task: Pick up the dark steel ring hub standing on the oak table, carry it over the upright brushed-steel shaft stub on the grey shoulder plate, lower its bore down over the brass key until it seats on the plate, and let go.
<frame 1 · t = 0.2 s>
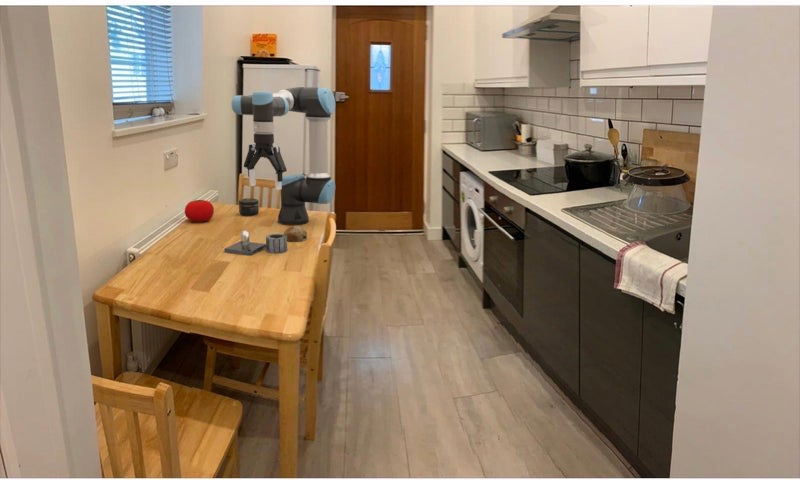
hand: (265, 187, 214), 26 cm above the table, fingers open, 13 cm apart
jar: (249, 214, 282), on the table
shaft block: (245, 249, 223), on the table
bread roll: (294, 239, 241), on the table
tomato: (200, 221, 266), on the table
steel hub: (276, 250, 224), on the table
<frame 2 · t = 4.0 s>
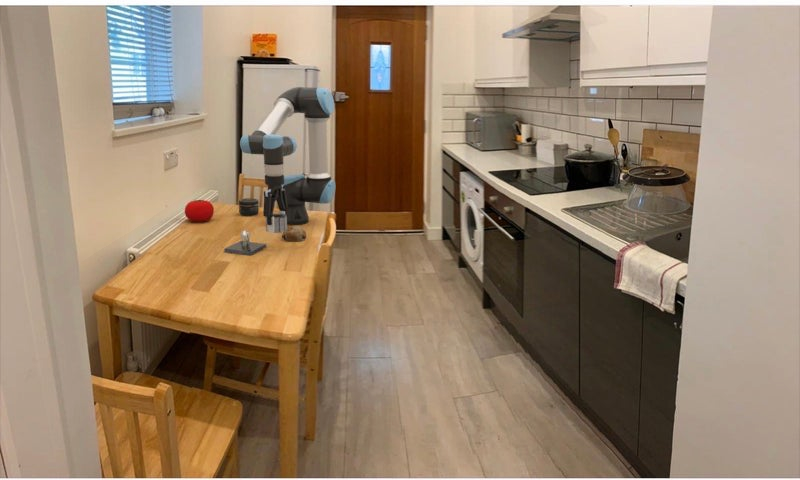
hand: (276, 229, 222), 9 cm above the table, fingers closed on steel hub, 8 cm apart
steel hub: (276, 230, 222), point 9 cm above the table, touching gripper
everything else where it was.
when the fingers open (3 cm above the table, at t = 7.7 s): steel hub stays where it is, resting on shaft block.
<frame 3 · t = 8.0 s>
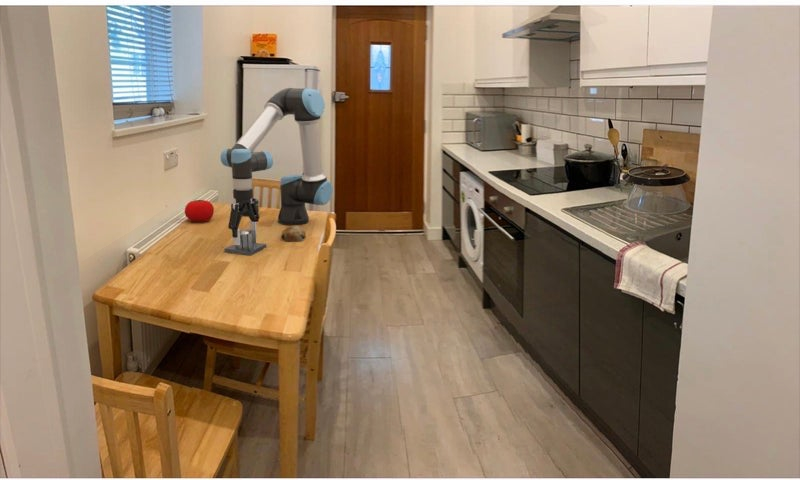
hand: (245, 240, 222), 4 cm above the table, fingers open, 12 cm apart
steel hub: (245, 246, 223), point 1 cm above the table, touching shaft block
everything else where it was.
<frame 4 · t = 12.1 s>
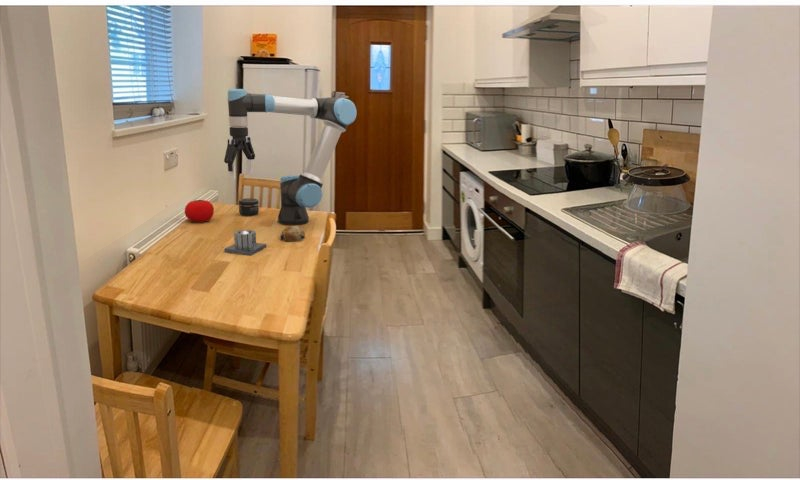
hand: (241, 176, 236), 27 cm above the table, fingers open, 13 cm apart
nothing on the table moved.
at the end: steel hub 0.0 cm off-centre on the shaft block, point 1.5 cm above the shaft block's base; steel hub tilted 0°; the gripper is holding nothing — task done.
